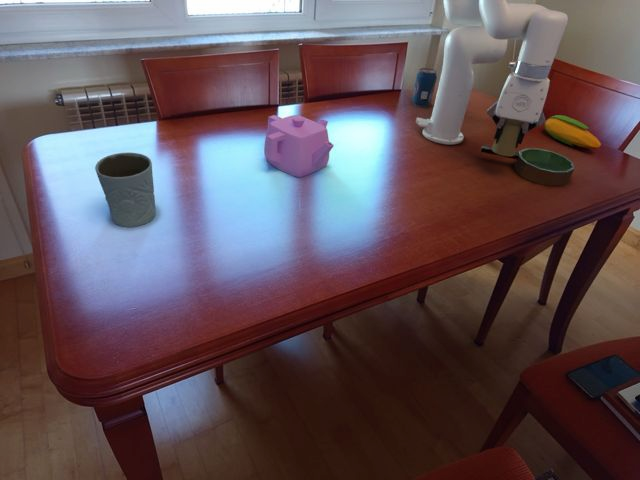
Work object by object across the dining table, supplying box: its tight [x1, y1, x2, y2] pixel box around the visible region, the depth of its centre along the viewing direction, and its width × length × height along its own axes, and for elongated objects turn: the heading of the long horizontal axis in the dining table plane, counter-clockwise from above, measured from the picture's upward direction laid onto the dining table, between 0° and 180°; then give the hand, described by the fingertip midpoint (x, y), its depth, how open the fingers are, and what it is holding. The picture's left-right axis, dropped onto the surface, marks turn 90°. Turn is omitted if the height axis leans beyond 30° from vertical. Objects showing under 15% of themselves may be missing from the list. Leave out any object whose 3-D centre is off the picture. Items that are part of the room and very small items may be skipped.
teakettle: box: [264, 114, 335, 178], centre depth 111 cm, size 17×17×12 cm
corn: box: [544, 114, 602, 150], centre depth 137 cm, size 7×8×20 cm
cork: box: [491, 118, 524, 157], centre depth 110 cm, size 6×6×11 cm
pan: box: [480, 144, 575, 187], centre depth 121 cm, size 24×14×4 cm, turn 69°
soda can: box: [411, 67, 438, 108], centre depth 156 cm, size 7×7×12 cm
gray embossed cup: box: [94, 152, 157, 228], centre depth 87 cm, size 10×10×12 cm
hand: (506, 143), depth 112 cm, fingers closed on cork, 4 cm apart
